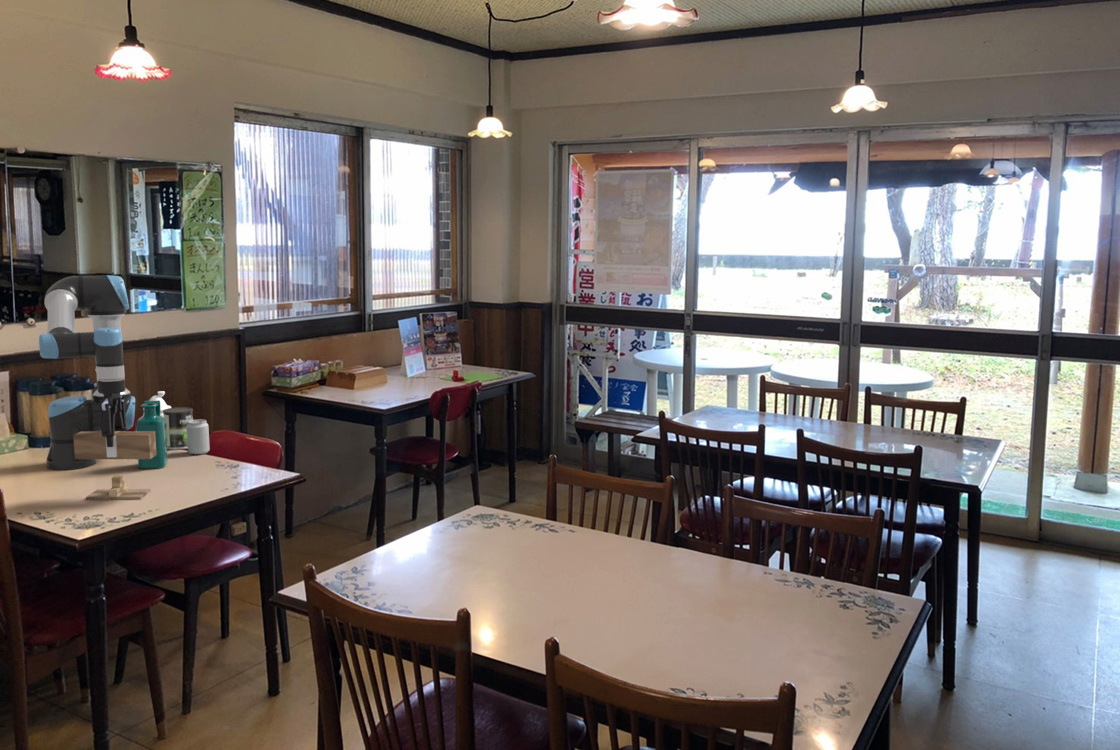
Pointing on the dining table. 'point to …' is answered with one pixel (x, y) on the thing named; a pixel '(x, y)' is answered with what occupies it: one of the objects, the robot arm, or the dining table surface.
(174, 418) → the coffee can
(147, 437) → the beam
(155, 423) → the green bottle
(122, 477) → the fulcrum
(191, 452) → the can
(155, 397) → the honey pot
